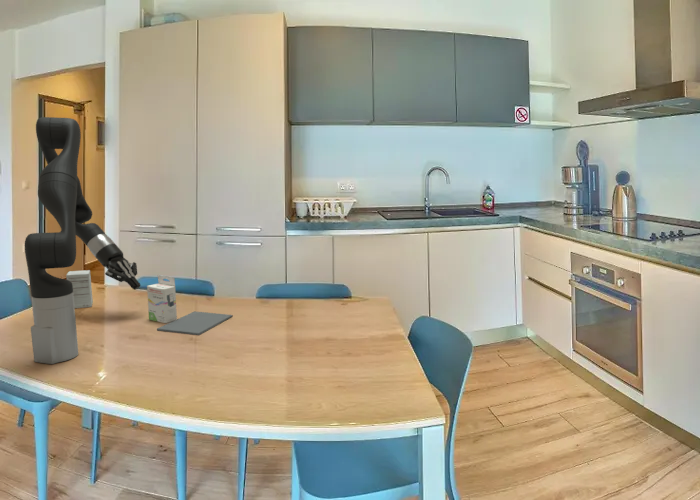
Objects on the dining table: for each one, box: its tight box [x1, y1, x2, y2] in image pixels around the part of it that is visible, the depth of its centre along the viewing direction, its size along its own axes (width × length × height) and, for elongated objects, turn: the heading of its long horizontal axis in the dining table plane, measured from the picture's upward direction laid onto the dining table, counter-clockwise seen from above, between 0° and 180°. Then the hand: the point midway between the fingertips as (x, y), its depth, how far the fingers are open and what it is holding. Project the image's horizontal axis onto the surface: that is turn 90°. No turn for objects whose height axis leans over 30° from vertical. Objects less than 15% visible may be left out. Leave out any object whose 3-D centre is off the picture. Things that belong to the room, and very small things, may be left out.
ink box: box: [146, 274, 178, 324], centre depth 156 cm, size 9×5×15 cm, turn 62°
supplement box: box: [65, 269, 94, 309], centre depth 172 cm, size 7×7×13 cm
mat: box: [156, 310, 233, 336], centre depth 153 cm, size 20×15×1 cm
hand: (137, 287), depth 158 cm, fingers closed
